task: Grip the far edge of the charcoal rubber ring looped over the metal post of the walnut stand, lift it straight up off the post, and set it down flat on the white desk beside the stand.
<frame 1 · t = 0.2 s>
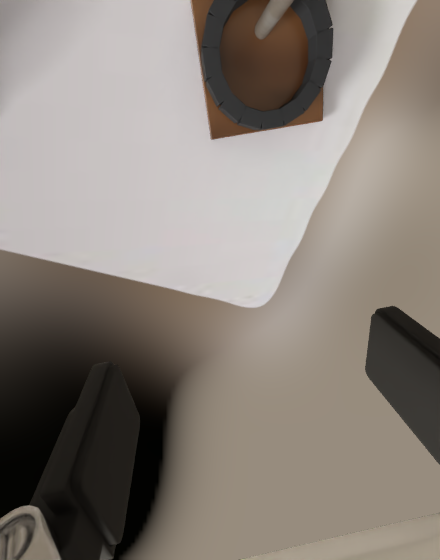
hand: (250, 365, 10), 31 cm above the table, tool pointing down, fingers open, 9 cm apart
stand: (260, 62, 31), on the table
ring: (263, 59, 30), point 1 cm above the table, touching stand
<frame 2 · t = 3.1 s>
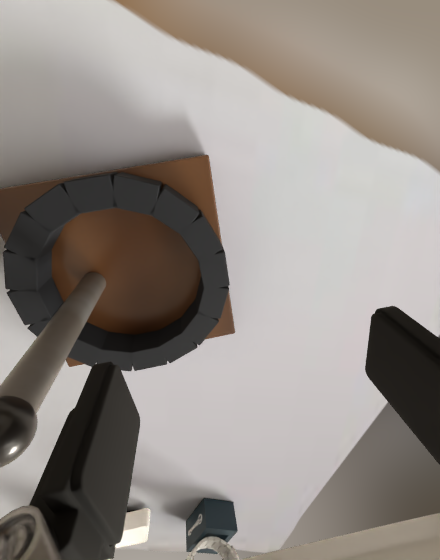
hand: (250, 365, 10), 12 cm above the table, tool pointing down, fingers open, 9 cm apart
stand: (131, 269, 21), on the table
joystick: (104, 508, 33), on the table
ring: (129, 275, 20), point 1 cm above the table, touching stand
watch: (208, 510, 37), on the table
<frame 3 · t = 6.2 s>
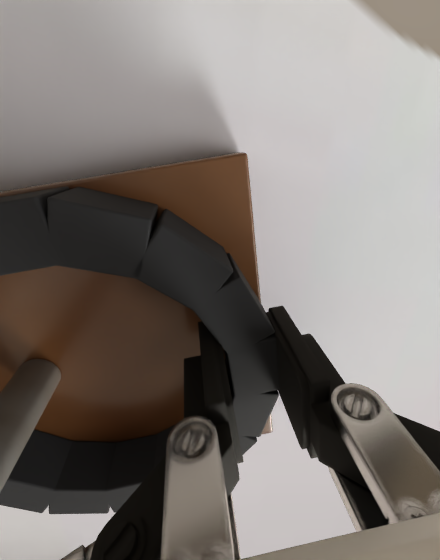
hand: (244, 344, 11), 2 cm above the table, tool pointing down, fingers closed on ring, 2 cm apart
stand: (108, 343, 13), on the table
ring: (103, 361, 11), point 1 cm above the table, touching gripper
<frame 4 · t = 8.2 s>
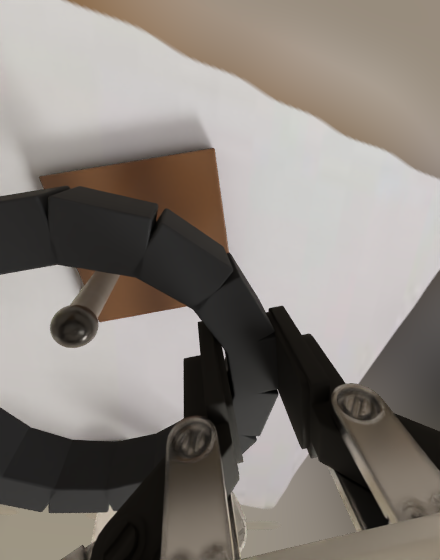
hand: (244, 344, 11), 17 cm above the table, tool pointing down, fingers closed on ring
stand: (151, 241, 26), on the table
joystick: (121, 455, 39), on the table
ring: (103, 360, 11), point 16 cm above the table, touching gripper
watch: (211, 462, 42), on the table
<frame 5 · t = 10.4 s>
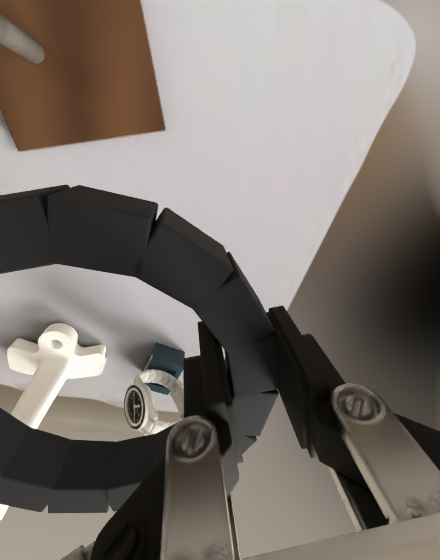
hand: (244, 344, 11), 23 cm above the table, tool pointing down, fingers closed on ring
stand: (69, 52, 24), on the table
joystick: (63, 343, 37), on the table
ring: (102, 360, 11), point 22 cm above the table, touching gripper
watch: (162, 360, 40), on the table
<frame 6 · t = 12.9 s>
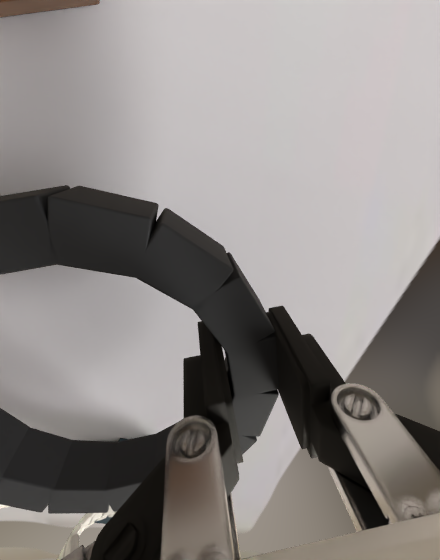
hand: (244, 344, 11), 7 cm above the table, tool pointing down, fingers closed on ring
ring: (103, 360, 11), point 6 cm above the table, touching gripper
watch: (133, 461, 24), on the table
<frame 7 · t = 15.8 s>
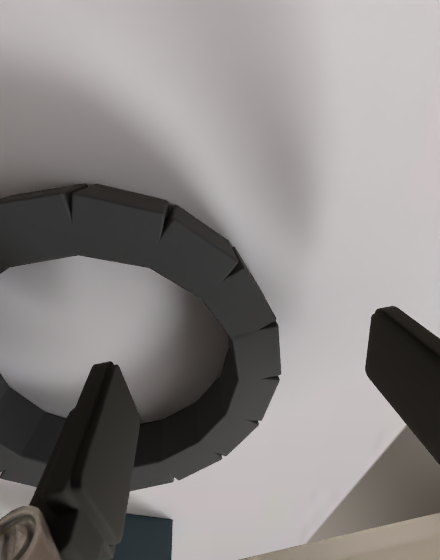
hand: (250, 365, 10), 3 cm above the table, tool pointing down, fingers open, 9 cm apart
ring: (114, 348, 12), on the table
watch: (126, 533, 19), on the table
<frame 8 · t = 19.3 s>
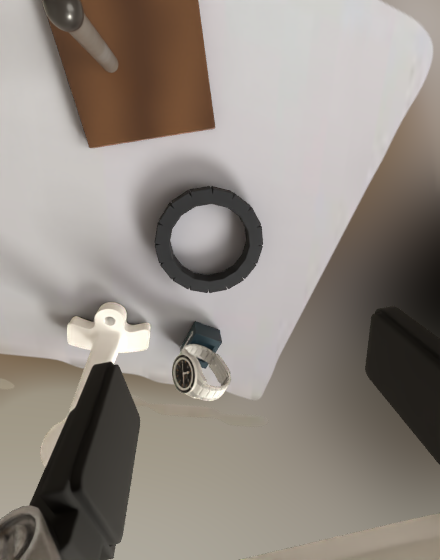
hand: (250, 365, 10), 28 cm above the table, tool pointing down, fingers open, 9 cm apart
stand: (137, 62, 28), on the table
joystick: (113, 321, 41), on the table
ring: (208, 240, 37), on the table
watch: (199, 338, 44), on the table
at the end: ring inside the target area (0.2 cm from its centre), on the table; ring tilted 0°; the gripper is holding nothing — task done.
